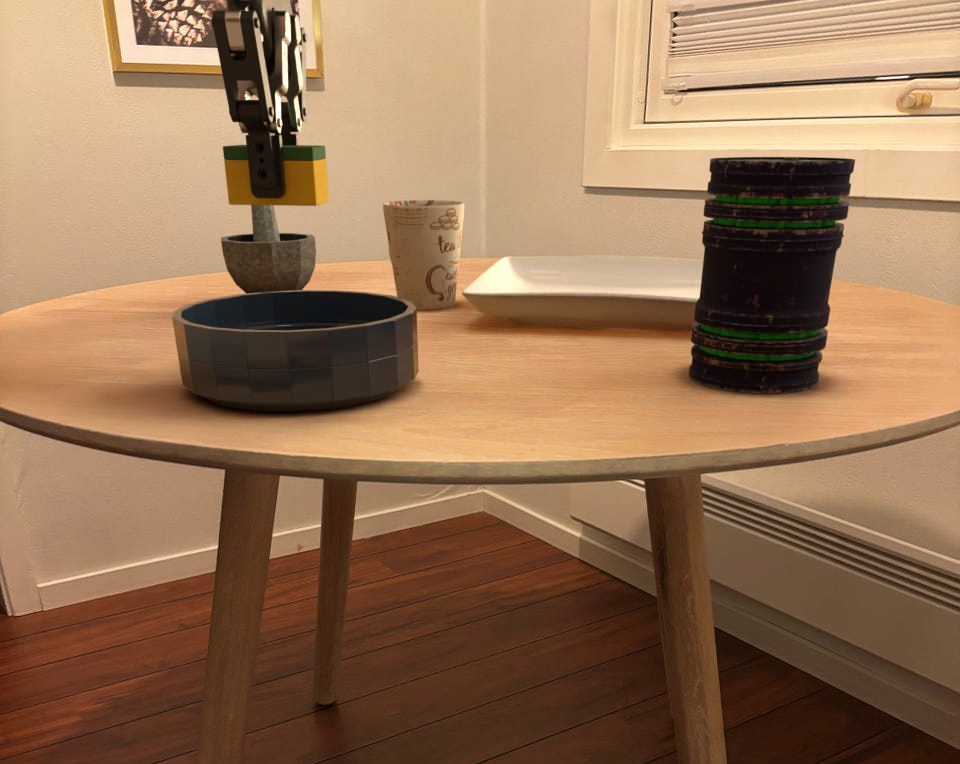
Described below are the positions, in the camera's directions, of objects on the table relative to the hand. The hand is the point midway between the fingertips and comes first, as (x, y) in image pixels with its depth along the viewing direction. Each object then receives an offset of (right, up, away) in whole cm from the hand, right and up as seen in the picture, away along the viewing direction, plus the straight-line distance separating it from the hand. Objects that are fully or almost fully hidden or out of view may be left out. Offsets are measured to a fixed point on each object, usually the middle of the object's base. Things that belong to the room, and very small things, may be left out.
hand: (277, 193), depth 65 cm
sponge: (0, 0, 0) cm, 1 cm away
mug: (+7, +6, +38) cm, 39 cm away
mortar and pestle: (-8, +5, +36) cm, 38 cm away
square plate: (+28, +3, +33) cm, 44 cm away
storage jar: (+35, -11, +7) cm, 37 cm away
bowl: (+1, -12, +6) cm, 13 cm away
